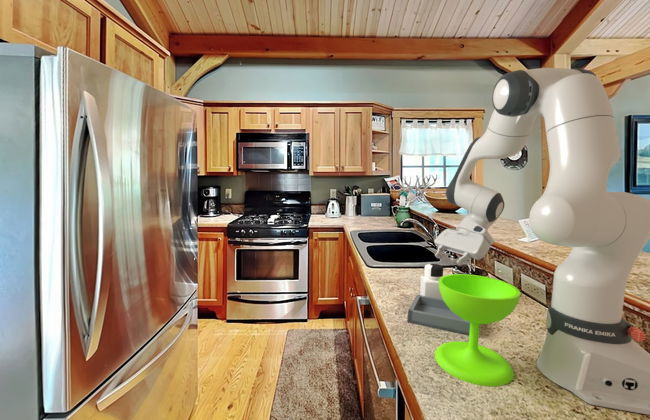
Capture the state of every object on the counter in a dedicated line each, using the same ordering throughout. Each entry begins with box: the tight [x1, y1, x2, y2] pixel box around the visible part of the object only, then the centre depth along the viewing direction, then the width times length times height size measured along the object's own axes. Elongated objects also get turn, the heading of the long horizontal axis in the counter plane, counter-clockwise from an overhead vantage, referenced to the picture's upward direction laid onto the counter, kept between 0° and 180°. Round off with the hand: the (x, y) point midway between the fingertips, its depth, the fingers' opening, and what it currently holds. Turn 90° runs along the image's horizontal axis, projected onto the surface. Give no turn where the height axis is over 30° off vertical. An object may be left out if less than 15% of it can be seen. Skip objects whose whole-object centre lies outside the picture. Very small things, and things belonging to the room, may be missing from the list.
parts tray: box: [407, 294, 470, 336], centre depth 90 cm, size 18×14×4 cm
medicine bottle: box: [419, 263, 444, 299], centre depth 105 cm, size 7×7×12 cm
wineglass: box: [434, 273, 521, 387], centre depth 68 cm, size 16×16×18 cm
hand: (446, 260), depth 107 cm, fingers open, 8 cm apart
